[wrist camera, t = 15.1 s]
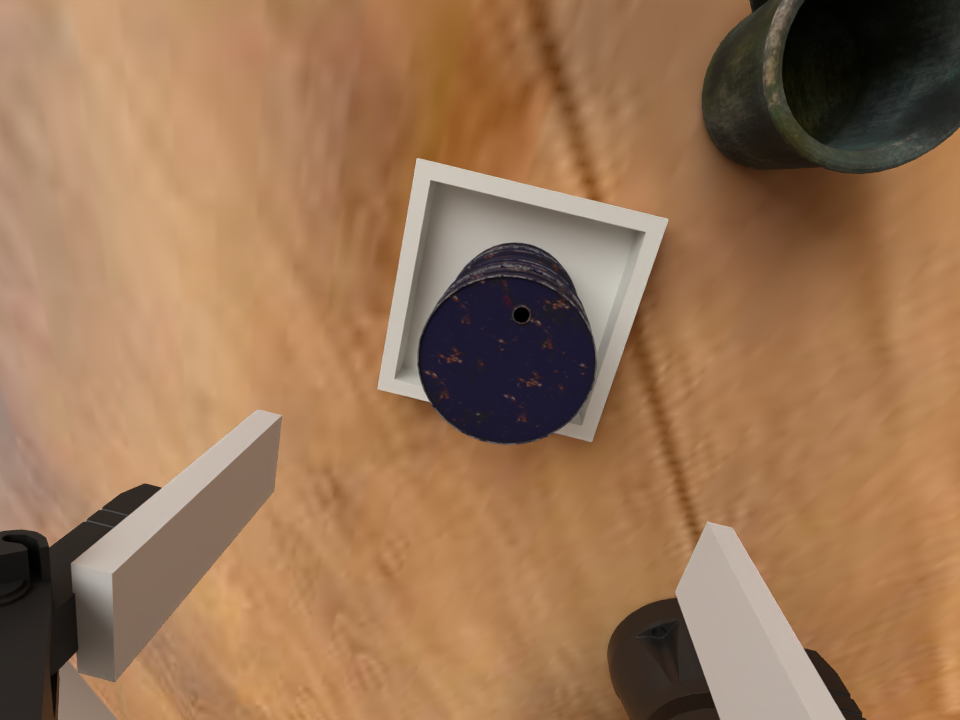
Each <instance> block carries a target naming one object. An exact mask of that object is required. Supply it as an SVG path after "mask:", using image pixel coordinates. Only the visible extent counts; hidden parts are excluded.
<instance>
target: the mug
mask: <svg viewBox="0 0 960 720" xmlns="http://www.w3.org/2000/svg"><path fill="white" fill-rule="evenodd" d="M750 5H751V9H752V14H750V15H749V16H748V17H746V18H745V19H744V20H743V21H741V22H740V23H739V24H738V25H737V26H736V27H735V28H733V29H732V30H731V31H730V32H729V33H728V35H727V36H726V37H725V38H724V40H723V41H722V42H721V43H720V45H719V47H718V48H717V50H716V52H715V53H714V55H713V57H712V59H711V62H710V64H709V66H708V69H707V72H706V76H705V79H704V85H703V92H702V109H703V115H704V120H705V123H706V127H707V130H708V132H709V134H710V136H711V138H712V140H713V141H714V143H715V144H716V145H717V147H718V148H719V149H720V150H721V151H722V152H723V153H724V154H725V155H726V156H727V157H729V158H730V159H732V160H733V161H735V162H736V163H739V164H741V165H743V166H746V167H750V168H754V169H762V170H775V169H794V168H812V167H823V168H825V169H828V170H832V171H837V172H841V173H854V174H864V173H873V172H880V171H884V170H888V169H892V168H895V167H898V166H901V165H903V164H905V163H908V162H910V161H913V160H915V159H917V158H919V157H920V156H922V155H924V154H925V153H927V152H929V151H931V150H932V149H934V148H935V147H937V146H938V145H939V144H941V143H942V142H943V141H945V140H946V139H947V138H948V137H950V136H951V135H952V134H953V133H954V132H955V131H956V130H957V129H958V128H959V127H960V0H750Z"/></svg>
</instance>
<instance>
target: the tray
mask: <svg viewBox="0 0 960 720" xmlns="http://www.w3.org/2000/svg"><path fill="white" fill-rule="evenodd" d="M668 220H669V219H667V218H663V217H659V216H655V215H651V214H647V213H643V212H639V211H635V210H630V209H626V208H622V207H618V206H614V205H610V204H606V203H602V202H597V201H593V200H589V199H585V198H581V197H577V196H573V195H569V194H564V193H560V192H556V191H552V190H548V189H544V188H540V187H536V186H531V185H527V184H523V183H519V182H515V181H511V180H507V179H503V178H498V177H494V176H490V175H486V174H482V173H478V172H474V171H470V170H465V169H461V168H457V167H453V166H449V165H445V164H441V163H437V162H432V161H428V160H424V159H419V158H417V161H416V167H415V173H414V178H413V184H412V190H411V196H410V202H409V208H408V213H407V219H406V225H405V231H404V237H403V243H402V248H401V254H400V260H399V266H398V272H397V278H396V283H395V289H394V295H393V301H392V307H391V313H390V318H389V324H388V330H387V336H386V342H385V348H384V353H383V359H382V365H381V371H380V377H379V383H378V388H377V389H379V390H383V391H387V392H391V393H395V394H399V395H403V396H407V397H411V398H415V399H419V400H424V401H428V402H429V400H428V398H427V396H426V394H425V392H424V390H423V387H422V384H421V381H420V378H419V372H418V366H417V351H418V345H419V339H420V336H421V333H422V330H423V327H424V325H425V323H426V322H427V320H428V318H429V316H430V314H431V313H432V311H433V309H434V308H435V306H436V304H437V302H438V301H439V300H440V298H441V297H442V296H443V294H444V293H445V291H446V290H447V289H448V288H449V286H450V285H451V284H452V283H453V282H454V281H455V280H456V278H457V276H458V275H459V273H460V272H461V271H462V269H463V268H464V267H465V266H466V265H467V264H468V263H469V262H470V261H471V260H472V259H473V258H475V257H476V256H477V255H478V254H480V253H481V252H483V251H484V250H486V249H488V248H491V247H493V246H496V245H499V244H503V243H512V242H516V243H526V244H530V245H534V246H536V247H539V248H541V249H543V250H545V251H546V252H548V253H550V254H551V255H552V256H553V257H554V258H556V259H557V260H558V262H559V263H560V264H561V265H562V266H563V268H564V269H565V270H566V271H567V273H568V275H569V276H570V278H571V280H572V282H573V284H574V287H575V289H576V292H577V296H578V297H579V299H580V301H581V302H582V305H583V307H584V310H585V312H586V315H587V317H588V320H589V322H590V326H591V331H592V335H593V337H594V341H595V346H596V350H597V370H596V378H595V381H594V384H593V388H592V391H591V393H590V395H589V397H588V399H587V401H586V403H585V404H584V406H583V407H582V409H581V410H580V411H579V413H578V414H577V415H576V416H575V417H574V418H573V419H572V420H571V421H570V422H569V423H568V424H566V425H565V426H564V427H562V428H561V429H560V430H558V431H557V432H555V433H556V434H561V435H565V436H569V437H573V438H577V439H581V440H585V441H589V442H592V441H593V438H594V435H595V432H596V429H597V426H598V423H599V420H600V417H601V414H602V411H603V409H604V406H605V403H606V400H607V397H608V394H609V391H610V388H611V385H612V382H613V380H614V377H615V374H616V371H617V368H618V365H619V362H620V359H621V356H622V353H623V350H624V348H625V345H626V342H627V339H628V336H629V333H630V330H631V327H632V324H633V321H634V319H635V316H636V313H637V310H638V307H639V304H640V301H641V298H642V295H643V292H644V290H645V287H646V284H647V281H648V278H649V275H650V272H651V269H652V266H653V263H654V260H655V258H656V255H657V252H658V249H659V246H660V243H661V240H662V237H663V234H664V231H665V229H666V226H667V223H668Z"/></svg>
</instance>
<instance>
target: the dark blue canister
mask: <svg viewBox="0 0 960 720" xmlns="http://www.w3.org/2000/svg"><path fill="white" fill-rule="evenodd" d="M417 366H418V372H419V378H420V381H421V384H422V387H423V390H424V392H425V394H426V396H427V398H428V400H429V402H430V403H431V405H432V406H433V407H434V409H435V410H436V411H437V413H438V414H439V415H440V416H441V417H442V418H443V419H444V420H445V421H446V422H447V423H449V424H450V425H451V426H453V427H454V428H455V429H457V430H458V431H460V432H462V433H464V434H466V435H468V436H470V437H472V438H475V439H478V440H480V441H484V442H489V443H493V444H503V445H513V444H524V443H528V442H533V441H536V440H539V439H542V438H545V437H547V436H549V435H551V434H553V433H555V432H557V431H558V430H560V429H561V428H562V427H564V426H565V425H566V424H568V423H569V422H570V421H571V420H572V419H573V418H574V417H575V416H576V415H577V414H578V413H579V411H580V410H581V409H582V407H583V406H584V404H585V403H586V401H587V399H588V397H589V395H590V393H591V391H592V388H593V384H594V381H595V378H596V370H597V350H596V346H595V341H594V337H593V335H592V331H591V326H590V322H589V320H588V317H587V315H586V312H585V310H584V307H583V305H582V302H581V301H580V299H579V297H578V296H577V292H576V289H575V287H574V284H573V282H572V280H571V278H570V276H569V275H568V273H567V271H566V270H565V269H564V268H563V266H562V265H561V264H560V263H559V262H558V260H557V259H556V258H554V257H553V256H552V255H551V254H550V253H548V252H546V251H545V250H543V249H541V248H539V247H536V246H534V245H530V244H526V243H516V242H512V243H503V244H499V245H496V246H493V247H491V248H488V249H486V250H484V251H483V252H481V253H480V254H478V255H477V256H476V257H475V258H473V259H472V260H471V261H470V262H469V263H468V264H467V265H466V266H465V267H464V268H463V269H462V271H461V272H460V273H459V275H458V276H457V278H456V280H455V281H454V282H453V283H452V284H451V285H450V286H449V288H448V289H447V290H446V291H445V293H444V294H443V296H442V297H441V298H440V300H439V301H438V302H437V304H436V306H435V308H434V309H433V311H432V313H431V314H430V316H429V318H428V320H427V322H426V323H425V325H424V327H423V330H422V333H421V336H420V339H419V345H418V351H417Z"/></svg>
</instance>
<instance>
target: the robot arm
mask: <svg viewBox="0 0 960 720" xmlns="http://www.w3.org/2000/svg"><path fill="white" fill-rule="evenodd" d="M281 420H282V415H279V414H275V413H271V412H267V411H263V410H259V409H257V410H256V411H255V412H253V413H252V414H251V415H250V416H249V417H247V418H246V419H245V420H244V421H243V422H241V423H240V424H239V425H238V426H236V427H235V428H234V429H233V430H232V431H230V432H229V433H228V434H227V435H226V436H224V437H223V438H222V439H221V440H220V441H218V442H217V443H216V444H215V445H214V446H212V447H211V448H210V449H209V450H207V451H206V452H205V453H204V454H203V455H201V456H200V457H199V458H198V459H197V460H195V461H194V462H193V463H192V464H191V465H189V466H188V467H187V468H186V469H184V470H183V471H182V472H181V473H180V474H178V475H177V476H176V477H175V478H174V479H172V480H171V481H170V482H169V483H168V484H166V485H165V486H164V487H163V488H161V487H157V486H153V485H149V484H142V485H140V486H138V487H135V488H133V489H130V490H128V491H126V492H123V493H121V494H120V495H118V496H117V497H116V498H114V499H113V500H112V501H110V502H109V503H108V504H106V505H105V506H104V507H103V508H102V510H98V511H97V512H96V513H94V514H93V515H92V516H91V517H89V518H88V519H87V521H86V522H83V523H81V524H80V525H79V526H77V527H76V528H75V529H73V530H72V531H71V532H69V533H68V534H67V535H65V536H64V537H63V538H61V539H60V540H59V541H57V542H56V543H55V544H54V545H52V546H51V547H50V548H49V545H48V542H47V539H46V537H44V536H43V535H41V534H39V533H38V532H34V531H28V530H10V531H2V532H0V720H58V701H59V669H60V668H61V667H62V666H63V665H64V664H65V662H67V661H68V660H69V659H70V658H71V657H72V656H73V655H74V654H75V652H76V653H77V668H78V673H82V674H86V675H90V676H93V677H97V678H101V679H105V680H109V681H113V682H116V680H117V679H118V678H119V677H120V676H121V674H122V673H123V672H124V671H125V670H126V668H127V667H128V666H129V665H130V664H131V662H132V661H133V660H134V659H135V658H136V656H137V655H138V654H139V653H140V652H141V650H142V649H143V648H144V647H145V646H146V644H147V643H148V642H149V641H150V640H151V638H152V637H153V636H154V635H155V634H156V632H157V631H158V630H159V629H160V628H161V626H162V625H163V624H164V623H165V622H166V620H167V619H168V618H169V617H170V616H171V614H172V613H173V612H174V611H175V610H176V608H177V607H178V606H179V605H180V604H181V602H182V601H183V600H184V599H185V598H186V596H187V595H188V594H189V593H190V592H191V590H192V589H193V588H194V587H195V586H196V584H197V583H198V582H199V581H200V580H201V578H202V577H203V576H204V575H205V574H206V572H207V571H208V570H209V569H210V568H211V566H212V565H213V564H214V563H215V562H216V560H217V559H218V558H219V557H220V556H221V554H222V553H223V552H224V551H225V550H226V548H227V547H228V546H229V545H230V544H231V542H232V541H233V540H234V539H235V538H236V536H237V535H238V534H239V533H240V532H241V530H242V529H243V528H244V527H245V526H246V524H247V523H248V522H249V521H250V520H251V518H252V517H253V516H254V515H255V513H256V512H257V511H258V510H259V509H260V507H261V506H262V505H263V504H264V503H265V501H266V500H267V499H268V498H269V497H270V495H271V494H272V493H273V492H274V488H275V478H276V468H277V459H278V449H279V439H280V429H281ZM675 594H676V596H677V598H674V599H667V600H662V601H658V602H655V603H652V604H649V605H646V606H644V607H642V608H640V609H638V610H636V611H635V612H633V613H632V614H630V615H629V616H628V617H627V618H625V619H624V620H623V621H622V622H621V623H620V624H619V626H618V627H617V628H616V630H615V631H614V633H613V635H612V637H611V639H610V642H609V645H608V653H607V657H608V665H609V671H610V677H611V681H612V684H613V687H614V690H615V692H616V694H617V696H618V697H619V699H620V700H621V702H622V704H623V706H624V708H625V710H626V712H627V714H628V716H629V718H630V720H866V719H865V718H862V713H861V711H860V709H859V708H858V706H857V705H856V703H855V701H854V700H853V699H851V698H850V693H849V692H848V690H847V689H846V687H845V685H844V684H843V682H842V681H841V679H840V677H839V676H838V674H837V673H836V672H835V671H834V670H833V668H832V667H831V666H830V665H829V664H828V663H827V662H826V661H825V660H824V659H823V658H822V657H821V656H820V655H819V654H818V653H817V652H816V651H813V650H809V649H805V648H803V647H802V645H801V643H800V642H799V640H798V638H797V637H796V635H795V633H794V631H793V630H792V628H791V626H790V625H789V623H788V621H787V620H786V618H785V616H784V615H783V613H782V611H781V609H780V608H779V606H778V604H777V603H776V601H775V599H774V598H773V596H772V594H771V592H770V591H769V589H768V587H767V586H766V584H765V582H764V581H763V579H762V577H761V575H760V574H759V572H758V570H757V569H756V567H755V565H754V564H753V562H752V560H751V558H750V557H749V555H748V553H747V552H746V550H745V548H744V547H743V545H742V543H741V541H740V540H739V538H738V536H737V535H736V533H735V531H734V530H733V528H731V527H727V526H723V525H719V524H715V523H711V522H707V523H706V526H705V528H704V530H703V532H702V534H701V536H700V539H699V541H698V543H697V545H696V547H695V550H694V552H693V554H692V556H691V558H690V560H689V563H688V565H687V567H686V569H685V571H684V573H683V576H682V578H681V580H680V582H679V584H678V586H677V589H676V591H675Z"/></svg>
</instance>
